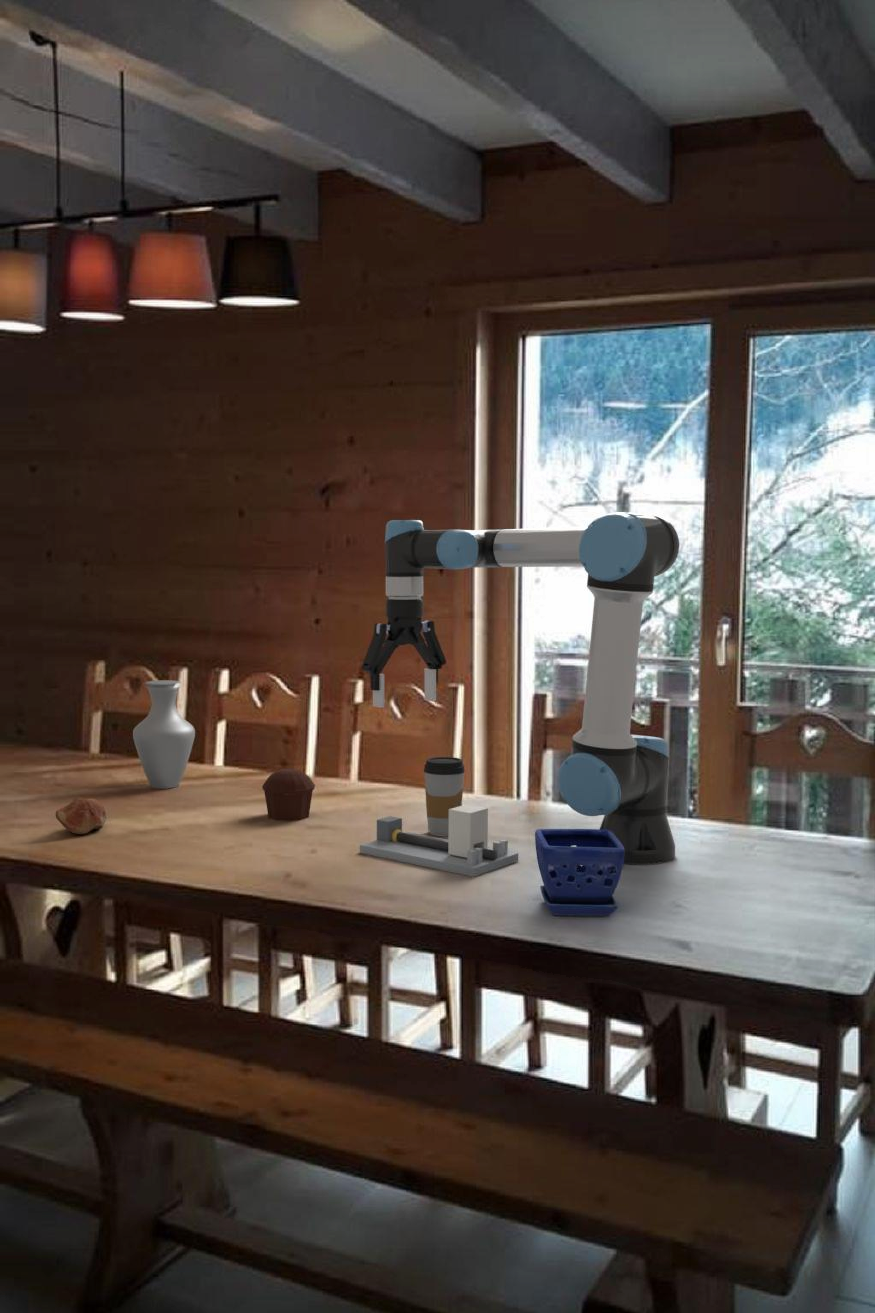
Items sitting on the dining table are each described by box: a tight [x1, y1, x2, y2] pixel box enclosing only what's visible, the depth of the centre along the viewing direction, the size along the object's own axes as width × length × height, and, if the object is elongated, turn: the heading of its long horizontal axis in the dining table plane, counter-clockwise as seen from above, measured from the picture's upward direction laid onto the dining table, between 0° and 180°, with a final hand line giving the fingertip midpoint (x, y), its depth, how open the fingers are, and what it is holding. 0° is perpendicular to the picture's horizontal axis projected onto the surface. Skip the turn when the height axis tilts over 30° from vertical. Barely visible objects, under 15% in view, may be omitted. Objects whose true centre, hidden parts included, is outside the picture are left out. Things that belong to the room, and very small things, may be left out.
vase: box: [132, 679, 196, 790], centre depth 309 cm, size 14×14×25 cm
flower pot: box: [534, 828, 625, 917], centre depth 213 cm, size 13×13×12 cm
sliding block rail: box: [359, 815, 519, 877], centre depth 246 cm, size 27×14×6 cm, turn 52°
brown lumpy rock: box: [55, 796, 107, 835], centre depth 264 cm, size 13×8×10 cm
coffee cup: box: [423, 756, 466, 837], centre depth 264 cm, size 8×8×15 cm
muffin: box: [261, 768, 316, 822], centre depth 279 cm, size 12×11×10 cm
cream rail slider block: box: [447, 804, 489, 858], centre depth 241 cm, size 5×5×8 cm
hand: (404, 704), depth 262 cm, fingers open, 13 cm apart
